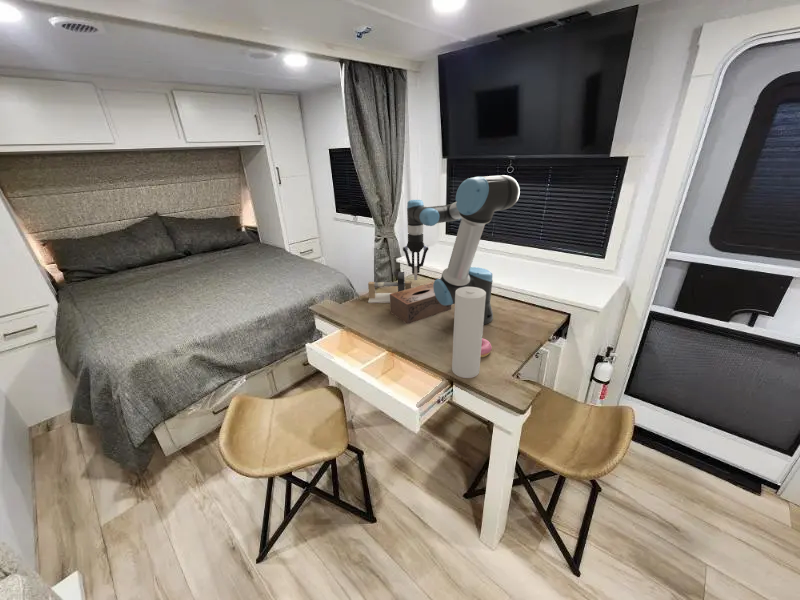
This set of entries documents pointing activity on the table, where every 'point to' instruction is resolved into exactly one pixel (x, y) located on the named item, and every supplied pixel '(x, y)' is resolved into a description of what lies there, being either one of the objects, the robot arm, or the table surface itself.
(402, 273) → the collar
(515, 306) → the table surface
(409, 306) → the tissue box cover
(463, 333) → the cylinder container
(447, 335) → the table surface
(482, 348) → the doughnut
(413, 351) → the table surface
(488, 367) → the table surface
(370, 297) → the rail stand
